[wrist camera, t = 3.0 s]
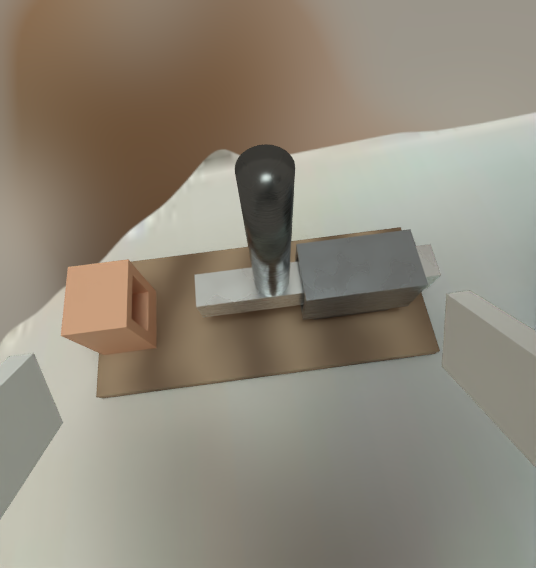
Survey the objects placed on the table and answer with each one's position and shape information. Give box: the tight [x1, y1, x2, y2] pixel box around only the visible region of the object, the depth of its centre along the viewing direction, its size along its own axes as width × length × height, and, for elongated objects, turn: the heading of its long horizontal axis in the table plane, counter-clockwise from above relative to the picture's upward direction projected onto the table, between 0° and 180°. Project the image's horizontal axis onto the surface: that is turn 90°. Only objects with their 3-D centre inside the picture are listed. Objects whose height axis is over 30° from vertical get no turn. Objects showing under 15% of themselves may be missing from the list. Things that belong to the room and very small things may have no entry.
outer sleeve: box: [295, 230, 428, 320], centre depth 26 cm, size 8×4×6 cm, turn 97°
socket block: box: [61, 260, 156, 355], centre depth 26 cm, size 4×5×6 cm
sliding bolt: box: [195, 145, 441, 318], centre depth 21 cm, size 17×2×14 cm, turn 97°
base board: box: [96, 227, 440, 398], centre depth 29 cm, size 26×11×1 cm, turn 97°
